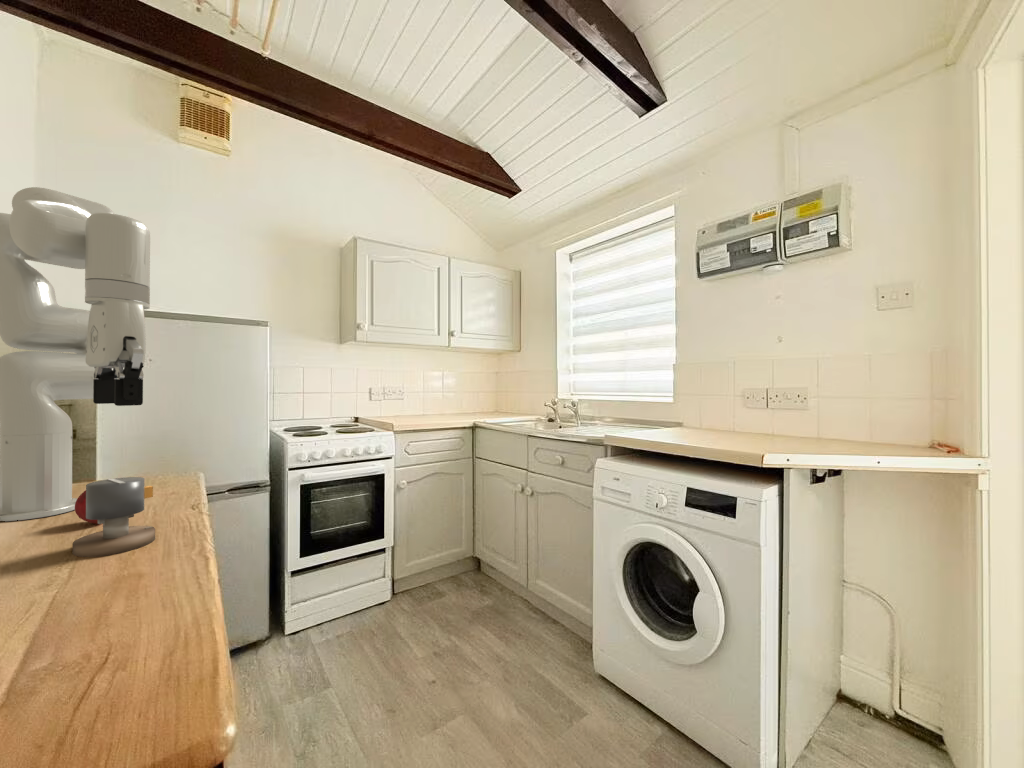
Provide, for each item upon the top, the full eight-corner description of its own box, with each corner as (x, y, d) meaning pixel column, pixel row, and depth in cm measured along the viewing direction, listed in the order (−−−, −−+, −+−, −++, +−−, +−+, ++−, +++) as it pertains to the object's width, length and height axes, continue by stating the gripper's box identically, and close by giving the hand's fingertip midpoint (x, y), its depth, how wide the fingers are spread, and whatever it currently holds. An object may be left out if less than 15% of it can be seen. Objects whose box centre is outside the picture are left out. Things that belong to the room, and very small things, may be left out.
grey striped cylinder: (79, 515, 66) (79, 482, 66) (143, 503, 73) (143, 473, 73) (94, 522, 63) (94, 487, 63) (160, 509, 70) (160, 477, 70)
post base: (63, 549, 66) (63, 516, 66) (141, 530, 74) (141, 502, 74) (84, 562, 61) (84, 527, 61) (165, 541, 69) (165, 510, 69)
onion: (91, 531, 74) (91, 485, 74) (65, 528, 75) (66, 483, 75) (127, 520, 80) (127, 478, 80) (103, 518, 81) (103, 476, 81)
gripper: (69, 297, 68) (68, 403, 68) (104, 285, 59) (103, 407, 59) (129, 305, 75) (128, 402, 75) (170, 295, 66) (169, 405, 66)
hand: (117, 404), depth 67 cm, fingers open, 9 cm apart
